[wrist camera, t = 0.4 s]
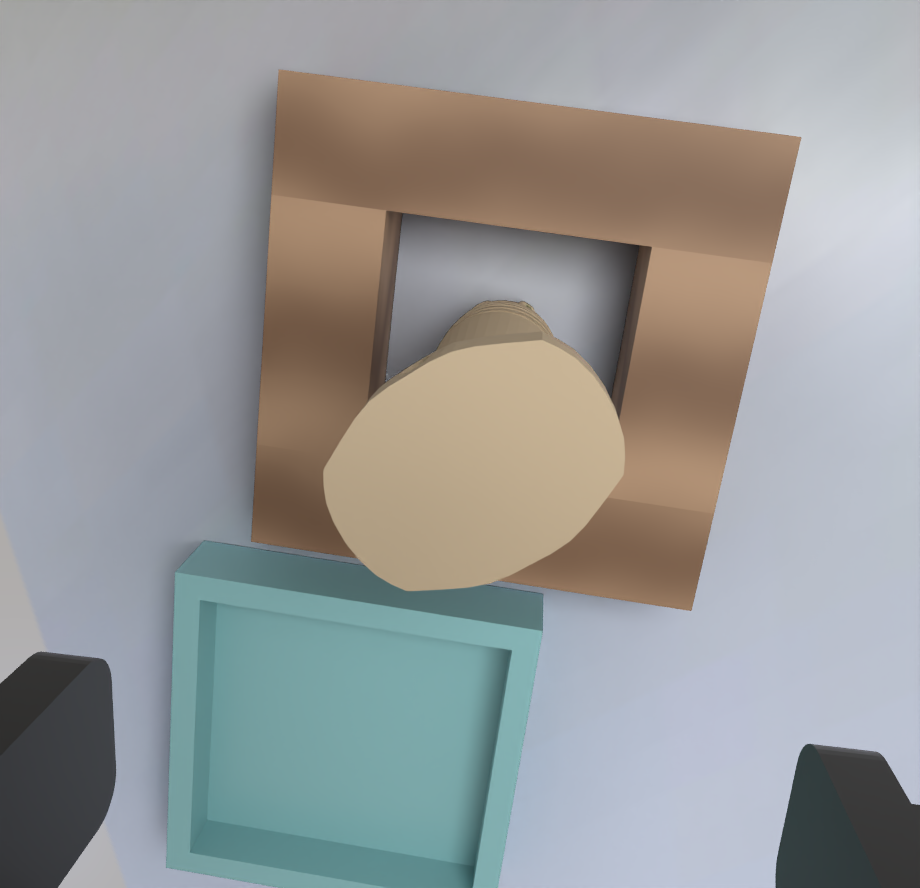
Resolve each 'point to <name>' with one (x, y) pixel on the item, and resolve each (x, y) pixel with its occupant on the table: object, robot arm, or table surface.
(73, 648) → the table surface
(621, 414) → the socket block
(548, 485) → the handle
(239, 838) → the tray
